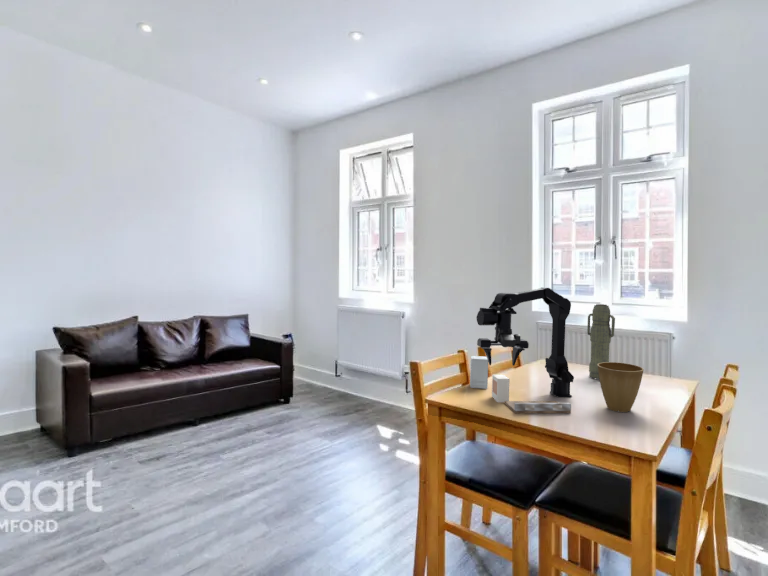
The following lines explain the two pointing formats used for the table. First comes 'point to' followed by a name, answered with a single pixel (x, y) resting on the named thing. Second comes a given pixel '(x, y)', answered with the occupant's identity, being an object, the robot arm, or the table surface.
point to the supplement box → (479, 372)
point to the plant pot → (619, 384)
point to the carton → (500, 388)
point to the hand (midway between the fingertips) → (501, 365)
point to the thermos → (600, 337)
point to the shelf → (538, 406)
